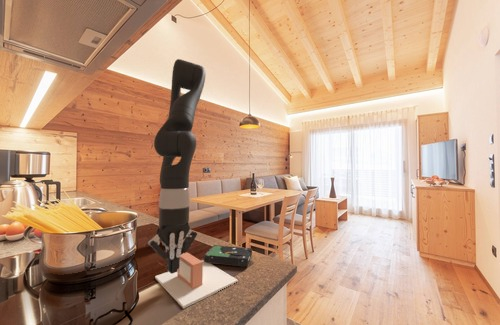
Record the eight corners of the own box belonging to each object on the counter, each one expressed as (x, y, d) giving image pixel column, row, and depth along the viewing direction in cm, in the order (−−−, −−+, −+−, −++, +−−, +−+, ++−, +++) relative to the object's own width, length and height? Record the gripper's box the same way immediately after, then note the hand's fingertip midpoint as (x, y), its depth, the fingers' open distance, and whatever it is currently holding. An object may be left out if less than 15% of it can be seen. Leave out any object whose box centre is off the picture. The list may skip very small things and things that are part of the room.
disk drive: (252, 255, 74) (213, 252, 77) (252, 248, 75) (213, 244, 77) (247, 268, 64) (203, 263, 66) (248, 258, 64) (203, 254, 67)
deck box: (202, 284, 54) (202, 261, 54) (192, 289, 52) (192, 265, 52) (186, 272, 60) (187, 252, 61) (177, 276, 58) (177, 254, 59)
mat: (155, 278, 58) (155, 276, 58) (203, 261, 69) (203, 259, 69) (183, 308, 45) (183, 305, 45) (237, 282, 56) (237, 280, 56)
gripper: (153, 210, 47) (150, 287, 46) (203, 204, 56) (202, 268, 55) (143, 206, 52) (141, 275, 51) (190, 201, 61) (189, 259, 60)
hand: (173, 271), depth 53 cm, fingers closed
